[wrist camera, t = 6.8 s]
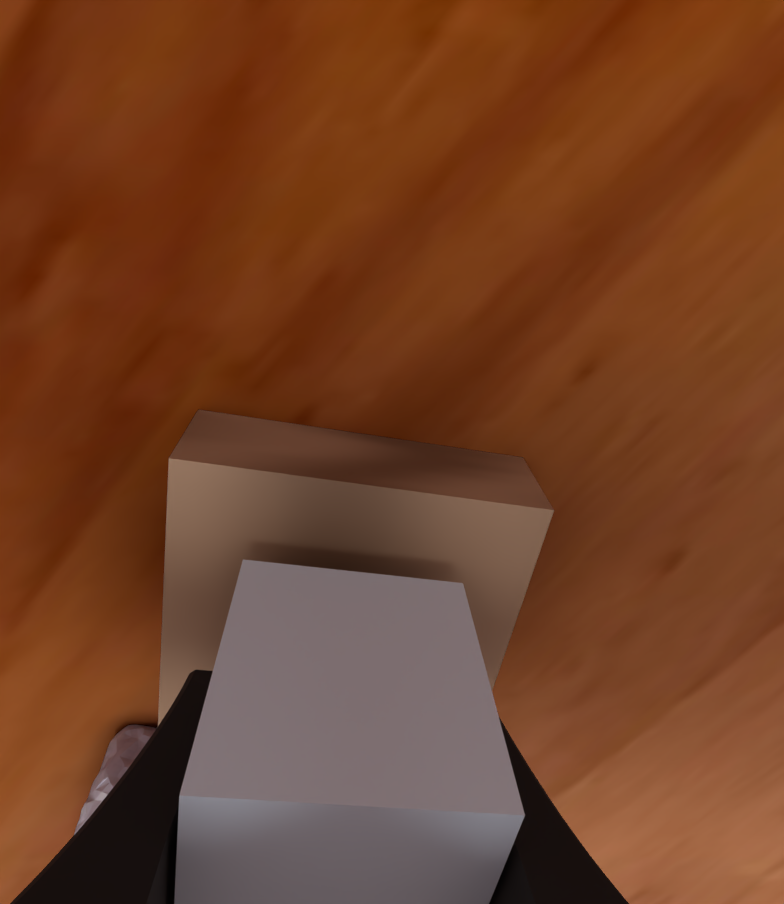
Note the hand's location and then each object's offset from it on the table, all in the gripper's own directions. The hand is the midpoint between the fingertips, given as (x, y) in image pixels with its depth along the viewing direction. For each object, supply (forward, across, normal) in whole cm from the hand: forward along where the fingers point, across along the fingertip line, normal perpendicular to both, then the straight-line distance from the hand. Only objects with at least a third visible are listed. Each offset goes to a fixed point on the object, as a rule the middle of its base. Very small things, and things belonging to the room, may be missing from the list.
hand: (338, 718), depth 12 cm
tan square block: (+5, 0, 0) cm, 5 cm away
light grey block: (+2, 0, 0) cm, 2 cm away
